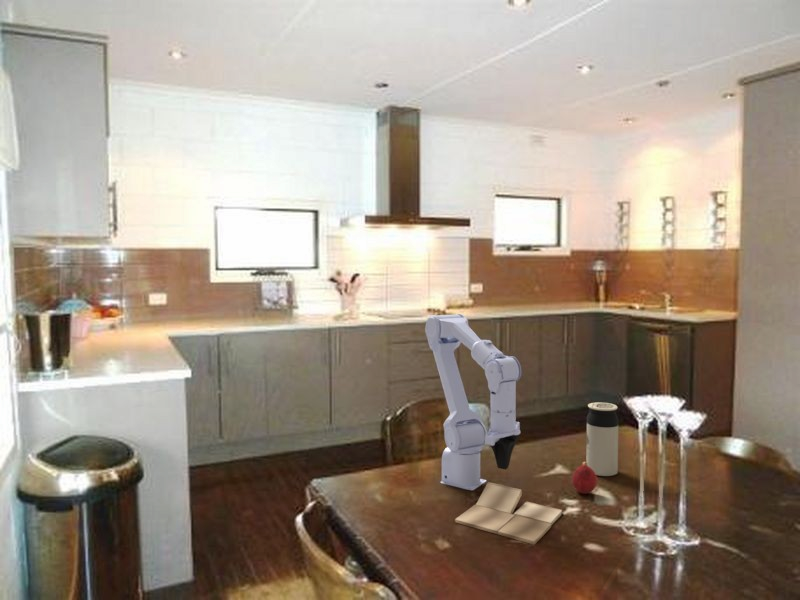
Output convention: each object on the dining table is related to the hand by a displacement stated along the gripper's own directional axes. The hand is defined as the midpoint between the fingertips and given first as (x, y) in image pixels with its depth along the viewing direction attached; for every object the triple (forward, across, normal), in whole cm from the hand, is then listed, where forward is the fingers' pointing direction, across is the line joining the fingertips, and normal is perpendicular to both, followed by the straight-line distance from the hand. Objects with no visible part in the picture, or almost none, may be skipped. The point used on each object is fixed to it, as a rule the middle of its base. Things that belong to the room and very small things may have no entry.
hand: (502, 467), depth 135 cm
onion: (+9, +17, -14) cm, 24 cm away
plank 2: (+9, -1, -9) cm, 13 cm away
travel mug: (+9, +35, -13) cm, 38 cm away
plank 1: (+7, -2, 0) cm, 7 cm away
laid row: (+9, -10, -5) cm, 14 cm away
